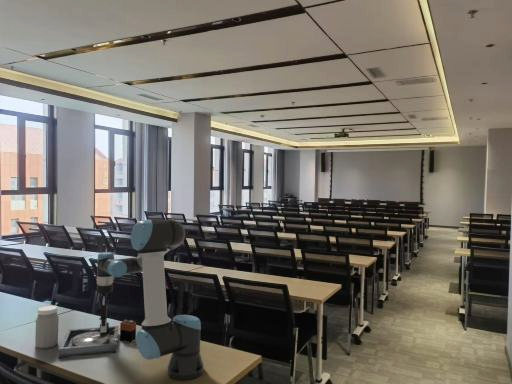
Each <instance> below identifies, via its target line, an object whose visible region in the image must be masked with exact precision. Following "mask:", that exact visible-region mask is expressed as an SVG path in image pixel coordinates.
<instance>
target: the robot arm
mask: <svg viewBox="0 0 512 384" xmlns="http://www.w3.org/2000/svg"><path fill="white" fill-rule="evenodd" d="M185 238H186V230H185V228H184V226H183V225H182V223H181V222H179V221H177V220H175V219H168V218H167V219H146V220H141V221H138V222H136V223H135V224H134V226H133V228H132V231H131V233H130V243H131V247H132V248H133V249H134V250H136V251H137V256H136V257H135V256H134V257H128V258H117V259H115V254H114V253H113V252H110V251H108V252H107V251H106V252H104V251H103V252H99V253H98V254H97V260H96V261H97V263H96V264H97V267H96V268H97V269H96V272H97V273H96V293H97V294H101V295H100V296H99V301H100V305H99V306H100V317H99V320H100V324H101V329H100V333H102V332H106V330H107V321H108V318H109V315H108V305H109V298H110V295H109V293H110V294H111V293H113V291H114V284H113V283H114V279H115V278H121V277H123V276H124V275H129V274H135V273H142V284H143V300H144V301H143V302H144V320H143V321H142V322H141V329H139V330H138V331H136V340H135V342H136V347H137V350H138V352H139V353H140V355H141V357H142V358H143V359H145V360H148V361H149V360H154V359H159V358H161V357H163V356H167V355H170V354H171V356H170V359H169V361H168V365H167V370H166V373H167V376H168V377H170V378H171V379H173V380H178V381H190V380H194V379H197V378H199V377H201V376H202V375H203V374H204V368H205V367H204V361H203V359H202V355H201V333H202V331H201V330H202V326H201V325H202V324H201V319H200V318H198V317H197V316H194V315H191V314H190V315H189V314H177V315H174V317H173V319H172V318H170V317H169V316H168V307H167V306H168V305H167V293H166V291H167V290H166V289H167V288H166V275H165V258H164V257H165V255H166V254H167V253H169V252H170V251H171V250H175V249H177V248H178V247H180V246H181V245H182V244H183V242H184V241H185Z"/></svg>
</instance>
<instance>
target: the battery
mask: <svg viewBox="0 0 512 384" xmlns="http://www.w3.org/2000/svg"><path fill="white" fill-rule="evenodd" d="M119 330H120V331H119V341H122V342H127V343H132V342H134V341H136V335H137V321H134V320H133V319H130V320H128V319H123V321H121V322H120V326H119Z"/></svg>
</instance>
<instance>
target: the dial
mask: <svg viewBox="0 0 512 384" xmlns="http://www.w3.org/2000/svg"><path fill="white" fill-rule="evenodd" d="M109 325H110V323H109V322H107V330H106V332H102V333H100V332H98V331H97V332H87V333H82V334H79V335H77V336H75V337H74V338H73V339H72V347H74V346H85V345H97V344H107V343H109V341H110V335H109V334H108V333H109V327H110V326H109ZM99 327H100V329H101V323H100V324H99Z"/></svg>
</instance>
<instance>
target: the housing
mask: <svg viewBox="0 0 512 384" xmlns="http://www.w3.org/2000/svg"><path fill="white" fill-rule="evenodd" d="M119 330H120V328H119V325H115V326H114V325H113V326H109V333H108V334H109V335H110V341H109V343H107V344H97V345H85V346H74V347H72V339H73V338H74V337H75V336H77V335H79V334H82V333H87V332H97V331H98V332H100V326H99V327H88V328H87V327H86V328H74V329H72V328H71V329H67V331H66V334H65V336H64V337H63V340H62V342H61V344H60V346H59V348H58V359H62V358H75V357H81V356H82V357H83V356H93V355H94V356H95V355H104V354H105V355H106V354H116V352H117V345H118V341H120V338H119Z"/></svg>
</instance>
